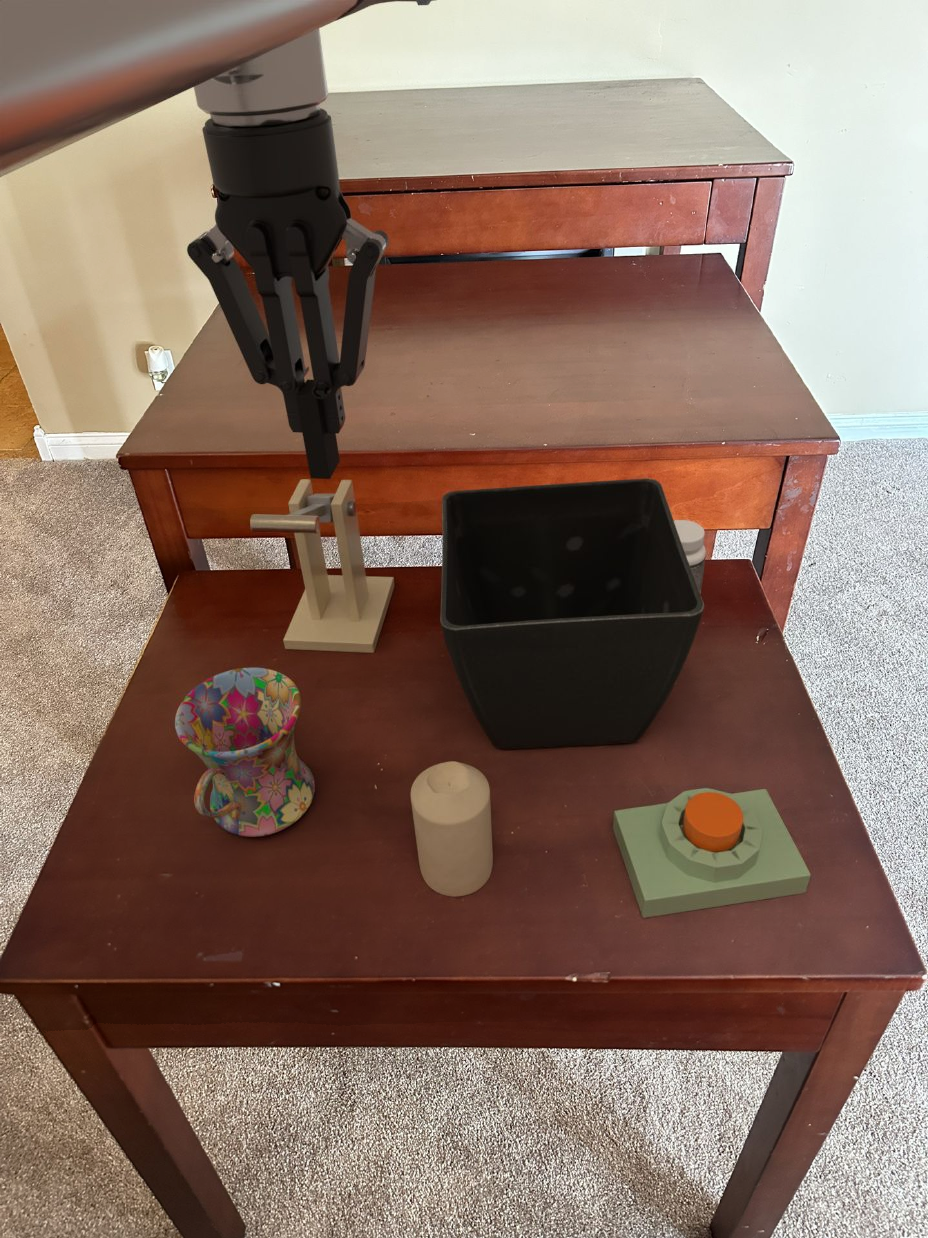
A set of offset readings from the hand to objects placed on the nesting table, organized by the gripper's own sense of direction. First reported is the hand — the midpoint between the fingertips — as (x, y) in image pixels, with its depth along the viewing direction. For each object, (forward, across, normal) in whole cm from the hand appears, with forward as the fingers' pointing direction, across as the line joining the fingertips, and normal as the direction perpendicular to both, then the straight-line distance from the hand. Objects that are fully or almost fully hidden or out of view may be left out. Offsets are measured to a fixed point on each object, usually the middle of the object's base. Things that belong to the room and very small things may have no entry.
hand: (325, 469), depth 67 cm
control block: (+24, +30, -14) cm, 41 cm away
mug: (+24, -5, -14) cm, 28 cm away
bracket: (+24, -6, +12) cm, 27 cm away
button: (+21, +30, -13) cm, 39 cm away
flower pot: (+24, +17, +2) cm, 30 cm away
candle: (+24, +12, -16) cm, 31 cm away
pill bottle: (+24, +28, +18) cm, 42 cm away
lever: (+10, -5, +7) cm, 13 cm away
